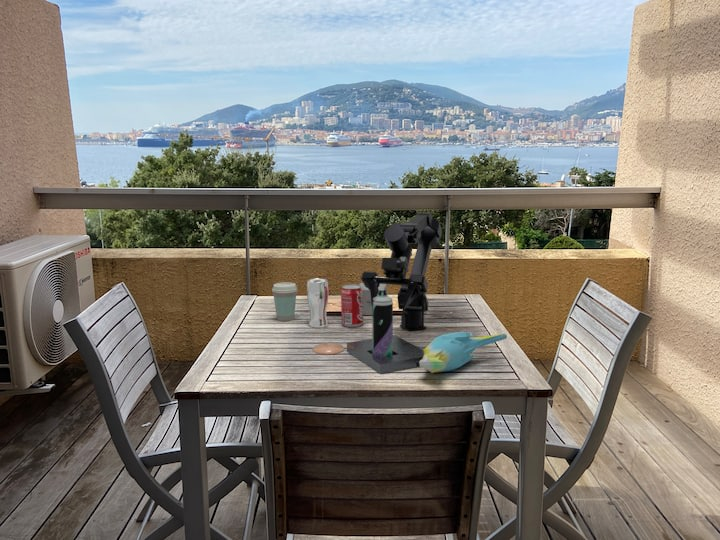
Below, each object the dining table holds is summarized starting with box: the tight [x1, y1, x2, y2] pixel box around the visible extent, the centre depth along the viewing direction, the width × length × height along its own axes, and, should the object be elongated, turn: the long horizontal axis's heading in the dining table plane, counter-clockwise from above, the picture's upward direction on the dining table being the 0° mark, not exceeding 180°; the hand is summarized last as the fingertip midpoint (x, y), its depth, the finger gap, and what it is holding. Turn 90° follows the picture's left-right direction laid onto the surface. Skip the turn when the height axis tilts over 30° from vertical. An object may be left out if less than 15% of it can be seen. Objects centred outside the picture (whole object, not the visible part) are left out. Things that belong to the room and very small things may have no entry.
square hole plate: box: [346, 334, 424, 375], centre depth 170 cm, size 16×20×2 cm
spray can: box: [371, 290, 394, 358], centre depth 165 cm, size 6×6×20 cm
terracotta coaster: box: [312, 342, 345, 356], centre depth 177 cm, size 9×9×1 cm
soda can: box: [340, 283, 364, 328], centre depth 200 cm, size 7×7×13 cm
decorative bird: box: [416, 331, 508, 374], centre depth 162 cm, size 14×30×9 cm, turn 138°
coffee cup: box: [271, 281, 298, 322], centre depth 208 cm, size 9×8×12 cm
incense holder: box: [359, 282, 388, 316], centre depth 214 cm, size 10×8×10 cm
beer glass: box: [306, 277, 329, 329], centre depth 200 cm, size 7×7×15 cm
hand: (388, 307), depth 172 cm, fingers open, 9 cm apart
